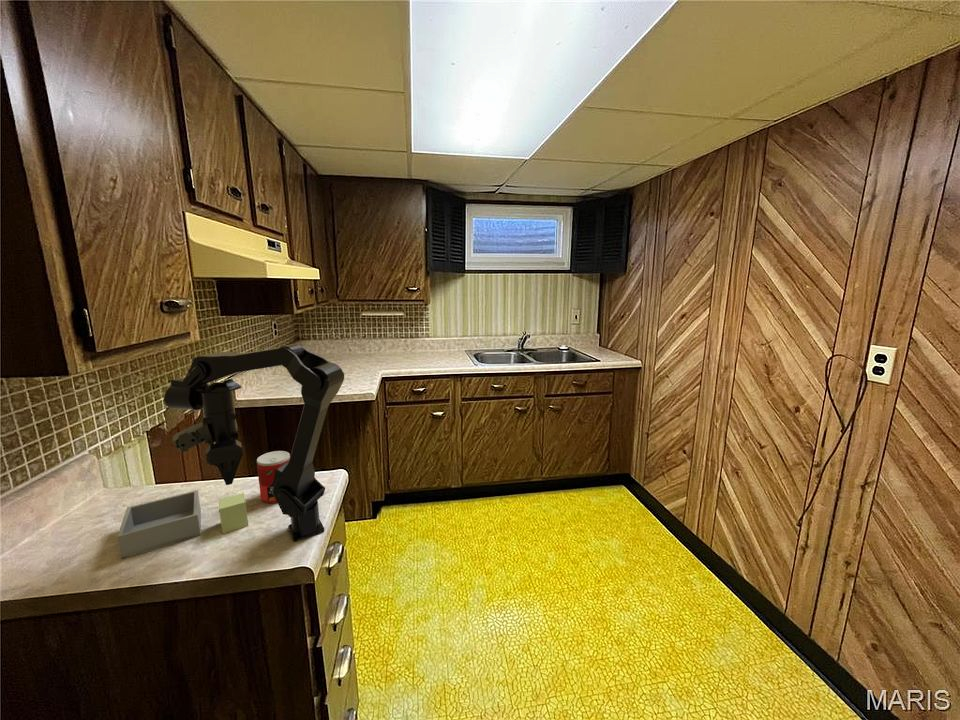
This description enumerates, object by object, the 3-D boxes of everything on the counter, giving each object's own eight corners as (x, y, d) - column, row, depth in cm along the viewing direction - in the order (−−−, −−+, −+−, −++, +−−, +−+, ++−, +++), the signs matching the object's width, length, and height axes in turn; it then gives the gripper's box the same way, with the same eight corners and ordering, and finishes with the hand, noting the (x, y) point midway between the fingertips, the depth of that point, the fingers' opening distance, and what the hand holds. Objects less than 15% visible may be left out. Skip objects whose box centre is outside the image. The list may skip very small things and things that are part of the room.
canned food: (269, 507, 96) (265, 466, 94) (255, 497, 101) (250, 457, 99) (299, 494, 102) (295, 455, 100) (284, 485, 107) (280, 448, 105)
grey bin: (200, 535, 85) (197, 514, 84) (121, 559, 78) (117, 536, 77) (200, 508, 95) (197, 490, 94) (130, 527, 88) (127, 507, 87)
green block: (248, 525, 89) (245, 502, 87) (222, 533, 86) (219, 509, 85) (246, 515, 93) (243, 492, 91) (221, 522, 90) (218, 499, 89)
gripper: (175, 406, 87) (185, 470, 90) (168, 430, 72) (181, 506, 75) (233, 398, 93) (241, 458, 96) (238, 418, 78) (247, 489, 81)
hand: (228, 476), depth 87 cm, fingers open, 9 cm apart
